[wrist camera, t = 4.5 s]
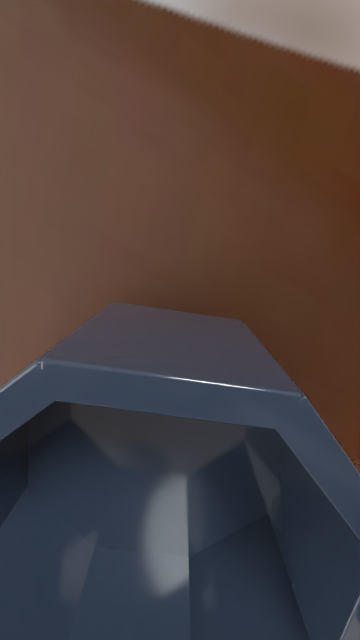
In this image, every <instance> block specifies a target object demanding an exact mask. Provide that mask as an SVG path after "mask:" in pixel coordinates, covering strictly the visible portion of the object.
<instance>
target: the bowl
mask: <svg viewBox="0 0 360 640" xmlns="http://www.w3.org/2000/svg"><path fill="white" fill-rule="evenodd" d="M0 640H360V472H359V471H358V469H357V468H356V467H355V465H354V464H353V462H352V461H351V459H350V458H349V457H348V455H347V454H346V452H345V451H344V449H343V448H342V447H341V445H340V444H339V442H338V441H337V439H336V438H335V437H334V435H333V434H332V432H331V431H330V429H329V428H328V427H327V425H326V424H325V422H324V421H323V419H322V418H321V416H320V415H319V414H318V412H317V411H316V409H315V408H314V406H313V405H312V404H311V402H310V401H309V399H308V398H307V396H306V395H305V394H304V393H303V392H302V391H301V389H300V388H299V387H298V386H297V385H296V383H295V382H294V381H293V380H292V379H291V378H290V376H289V375H288V374H287V373H286V372H285V370H284V369H283V368H282V367H281V366H280V365H279V363H278V362H277V361H276V360H275V359H274V357H273V356H272V355H271V354H270V353H269V352H268V350H267V349H266V348H265V347H264V346H263V344H262V343H261V342H260V341H259V340H258V339H257V337H256V336H255V335H254V334H253V333H252V331H251V330H250V329H249V328H248V327H247V326H246V324H245V323H244V322H243V321H241V320H238V319H231V318H224V317H217V316H210V315H203V314H196V313H189V312H182V311H175V310H169V309H162V308H155V307H148V306H141V305H134V304H127V303H120V302H112V303H109V304H108V305H106V306H105V307H104V308H102V309H101V310H100V311H99V312H97V313H96V314H95V315H93V316H92V317H91V318H89V319H88V320H87V321H85V322H84V323H83V324H82V325H80V326H79V327H78V328H76V329H75V330H74V331H72V332H71V333H70V334H69V335H67V336H66V337H65V338H63V339H62V340H61V341H59V342H58V343H57V344H55V345H54V346H53V347H52V348H50V349H49V350H48V351H46V352H45V353H44V354H42V355H41V356H40V357H38V358H37V359H36V360H35V361H33V362H32V363H31V364H29V365H28V366H27V367H25V368H24V369H23V370H22V371H20V372H19V373H18V374H16V375H15V376H14V377H12V378H11V379H10V380H9V381H7V382H6V383H5V384H3V385H2V386H1V387H0Z"/></svg>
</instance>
